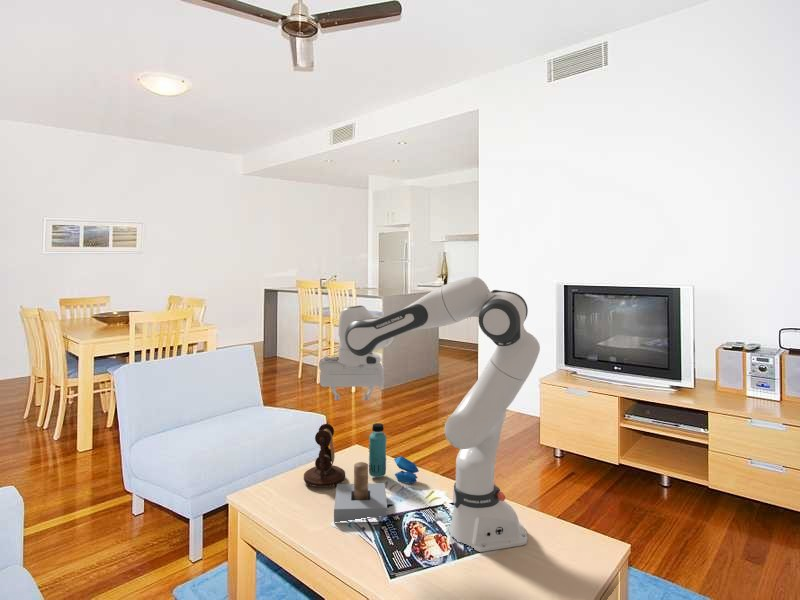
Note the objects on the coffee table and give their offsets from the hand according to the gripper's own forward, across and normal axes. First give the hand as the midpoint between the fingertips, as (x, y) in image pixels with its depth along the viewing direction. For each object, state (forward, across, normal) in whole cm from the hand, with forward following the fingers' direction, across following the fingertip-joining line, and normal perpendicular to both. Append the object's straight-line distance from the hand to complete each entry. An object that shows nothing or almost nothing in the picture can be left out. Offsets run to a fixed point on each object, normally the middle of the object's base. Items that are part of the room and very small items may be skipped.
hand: (352, 399), depth 150 cm
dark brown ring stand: (+35, -10, +18) cm, 41 cm away
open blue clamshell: (+35, +19, +17) cm, 44 cm away
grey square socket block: (+35, +3, -2) cm, 35 cm away
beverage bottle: (+35, +9, +20) cm, 42 cm away
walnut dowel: (+35, +3, -2) cm, 35 cm away
